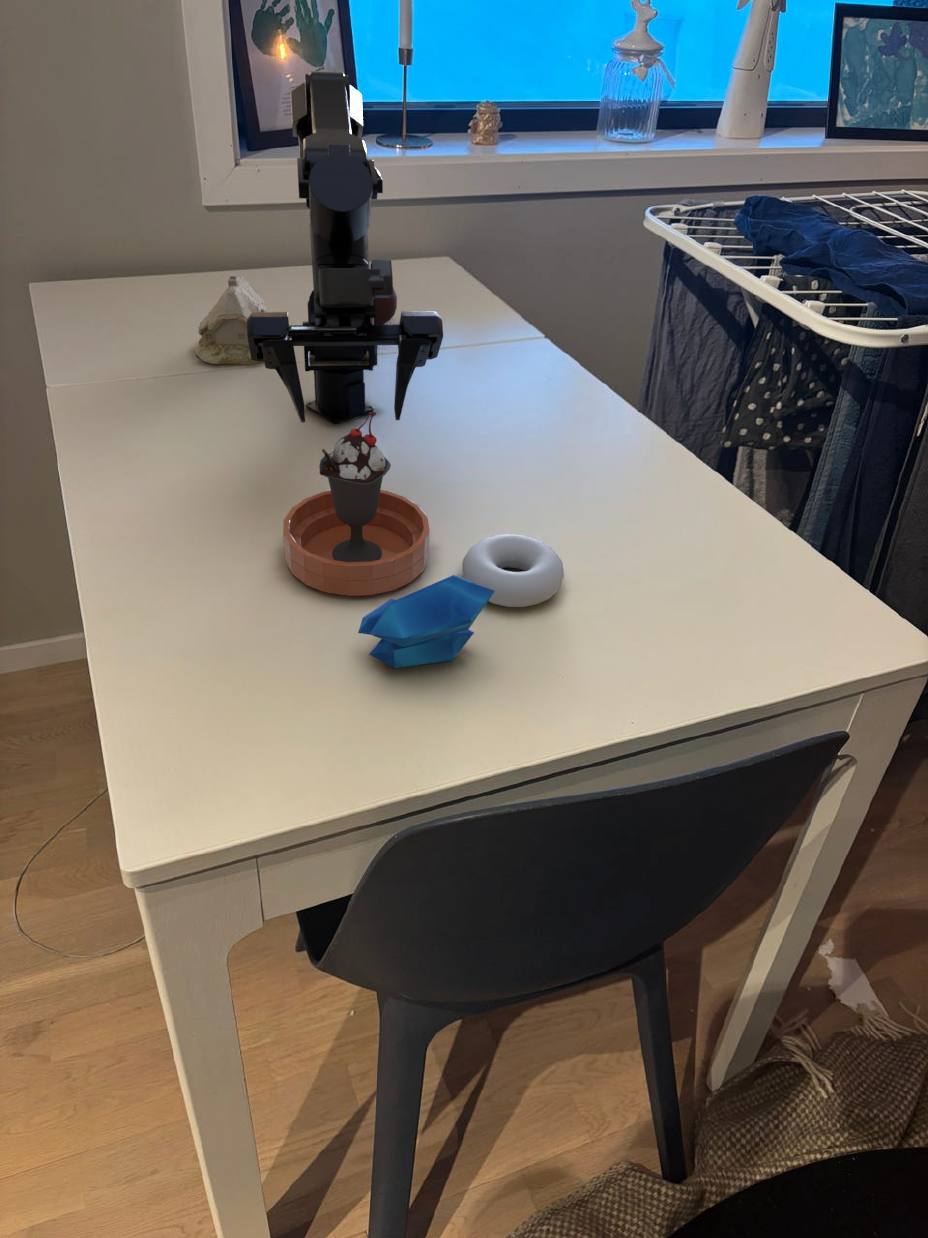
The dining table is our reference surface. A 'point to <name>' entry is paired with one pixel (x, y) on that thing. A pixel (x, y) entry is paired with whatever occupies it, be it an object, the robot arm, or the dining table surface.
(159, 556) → the dining table surface
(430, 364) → the dining table surface
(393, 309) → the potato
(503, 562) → the donut
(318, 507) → the bowl
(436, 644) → the crystal
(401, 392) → the robot arm
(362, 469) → the sundae
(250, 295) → the ceramic model
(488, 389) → the dining table surface
